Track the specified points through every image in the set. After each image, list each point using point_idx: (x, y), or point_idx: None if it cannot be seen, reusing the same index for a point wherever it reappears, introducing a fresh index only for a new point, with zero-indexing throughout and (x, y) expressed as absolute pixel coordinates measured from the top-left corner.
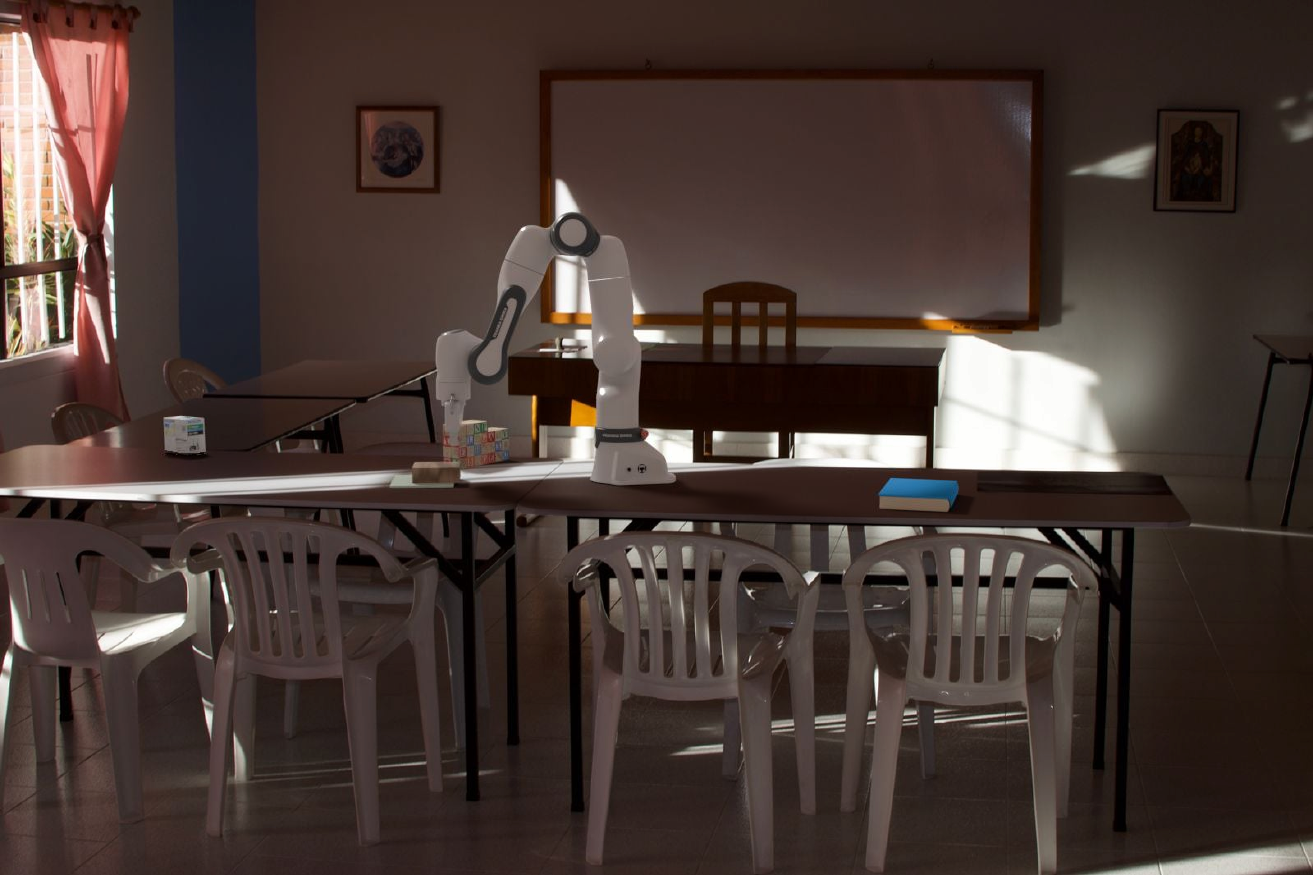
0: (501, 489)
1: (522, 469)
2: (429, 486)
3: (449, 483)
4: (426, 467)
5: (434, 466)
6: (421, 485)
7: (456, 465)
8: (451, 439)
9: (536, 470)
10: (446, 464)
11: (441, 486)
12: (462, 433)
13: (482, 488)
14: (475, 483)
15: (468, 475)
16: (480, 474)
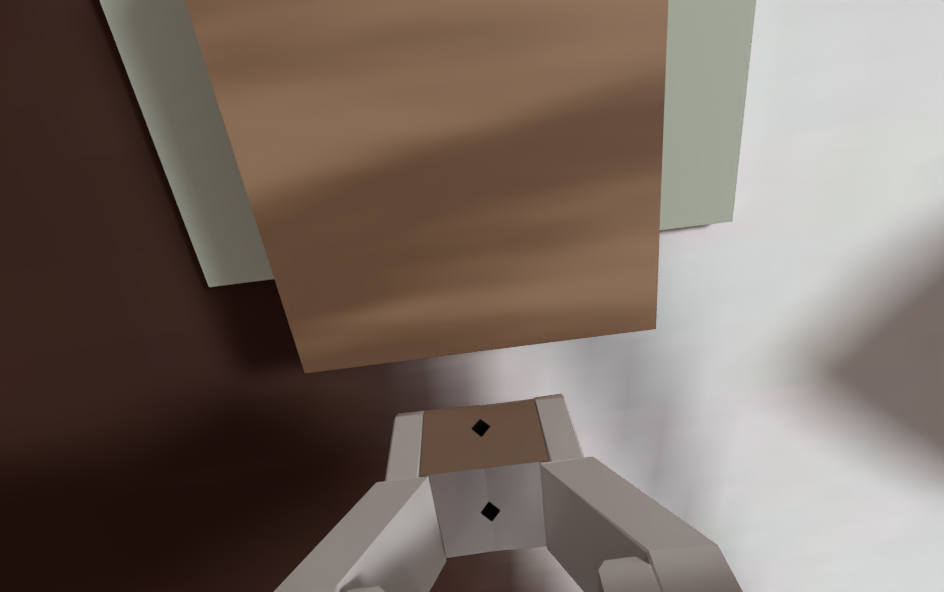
0: (232, 530)
1: (927, 527)
2: (143, 103)
3: None
4: (219, 48)
5: (314, 133)
6: (120, 25)
7: (415, 334)
8: (385, 495)
9: (867, 582)
10: (474, 234)
11: (181, 202)
12: None
13: (239, 445)
14: (422, 383)
15: (770, 290)
16: (798, 355)
